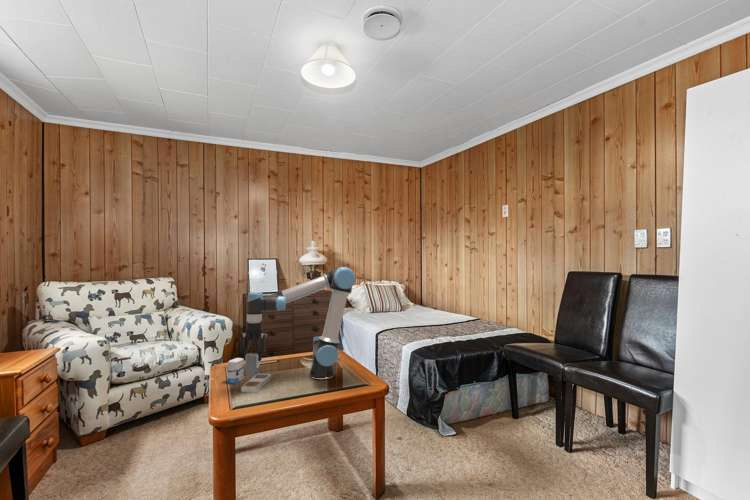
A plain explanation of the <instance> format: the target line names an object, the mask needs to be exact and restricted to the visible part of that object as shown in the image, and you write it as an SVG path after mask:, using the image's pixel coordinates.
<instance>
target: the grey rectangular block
mask: <svg viewBox="0 0 750 500" xmlns="http://www.w3.org/2000/svg"><path fill="white" fill-rule="evenodd" d="M247 354H248V353H247ZM257 355H258V353H254V352H253V353H252V352H251V353H249V354H248V355H247V356H246V360H245V361H246V367H245V374H244V375H245V376H249V377H254V376H255V375H257V374H260V373H259V369H260V366H259V367H258V368H256V358H257Z"/></svg>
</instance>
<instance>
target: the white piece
mask: <svg viewBox="0 0 750 500" xmlns="http://www.w3.org/2000/svg"><path fill="white" fill-rule="evenodd" d="M271 379H272V373H258V374H257V375H255V376H252V377H251V378H250V379H249V380H247V381H246V382H245V383H243V384H242V386H241V387H240V392H241V393H258V392H260V390H261V389H262V388H263V387H264V386H265V385H266V384H267V383H268V382H269V381H270V380H271Z"/></svg>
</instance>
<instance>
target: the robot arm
mask: <svg viewBox="0 0 750 500" xmlns="http://www.w3.org/2000/svg"><path fill="white" fill-rule="evenodd" d="M355 283H356V275H355V272H354V271H353V269H352V268H350V267H346V266H338V267H336V268H334V269H332V270H329V271H328V272H325V273H323V274H322V276H319V277H316V278H314V279H310V280H308V281H306V282H302V283H300V284H297V285H293V286H292V287H288V288H287V289H283V290H281V291H278V292H275V293H274V292H273V293H271V294H270V295H264V294H263V292H261V291H251V292H249V293H248V294H247V299H246V300H247V303H246V304H247V305H246V325H245V326H246V327H245V328H246V329H245V332H242V333H240V335H239V336H240V351H239V352H240V354H243V359H244V368H246V356H247V355H248V354H250V353H249V350H250V346H251V343H252V341H254V342H255V347H256V350H257V354H258V355H257V358H256V368H258V367H259V368H260V362H261V361H262V358H263V357H262V356H263V355H264V354H265V353H266V348H267V347H266V345H267V341H266V339H267V336H268V334H267V333H263V332H262V325H263V324H262V321H263V311H285V310H286V304H288V303H291V302H293V301H296V300H298V299H301V298H305V297H307V296H310V295H312V294H316V293H318V292H320V291H322V290H325V289H329V290H330V291H331V297H330V300H329V306H328V310H327V313H326V318H325V321H324V322H325V323H324V327H323V330H322V331H323V332H322V335H321V336H320V335H319V336H318V335H317V336H314V337H313V339H312V340H313V341H312V364H311V367H310V370H309V372H308V376H310V377H314V378H325V377H331V376H333V375H335V376H336V374H335V373H336V369H335V366H334V364H335V363H336V362H338V359H339V355H340V354H339V347H340V344H341V343H340V340H339V334H340V329H341V326H342V321H343V315H344V311H345V307H346V304H347V299H348V296H349V295H351V293H352V288H353V286H355ZM246 337H247V340H246ZM260 337H261V339H260ZM260 340H261V342H260ZM310 377H309V378H310Z"/></svg>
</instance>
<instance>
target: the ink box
mask: <svg viewBox="0 0 750 500" xmlns="http://www.w3.org/2000/svg"><path fill="white" fill-rule="evenodd" d="M244 370H245V360H244V357H243V358H241V357H235V358H233V359H230V360H228V362H227V381H226V382H227V384H230V385H231V384H232V385H235V384H237V383H240V382H241V381H242V380H243V381H244V375H245V374H244Z"/></svg>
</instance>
